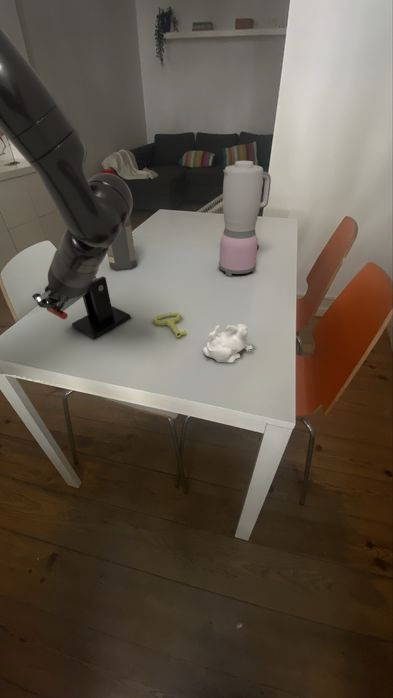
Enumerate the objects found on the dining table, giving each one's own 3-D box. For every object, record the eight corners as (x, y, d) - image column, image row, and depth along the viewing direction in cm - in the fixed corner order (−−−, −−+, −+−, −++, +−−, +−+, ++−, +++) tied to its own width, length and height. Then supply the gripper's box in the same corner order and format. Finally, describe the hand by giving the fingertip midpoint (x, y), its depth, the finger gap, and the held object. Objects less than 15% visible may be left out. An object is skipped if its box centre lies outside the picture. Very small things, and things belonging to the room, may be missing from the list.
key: (178, 342, 76) (177, 334, 75) (150, 321, 84) (149, 314, 83) (201, 331, 80) (201, 324, 79) (172, 312, 88) (172, 305, 86)
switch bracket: (94, 339, 78) (81, 292, 70) (72, 327, 82) (58, 282, 74) (130, 318, 85) (123, 273, 77) (109, 308, 90) (99, 265, 82)
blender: (228, 280, 102) (234, 167, 83) (212, 266, 111) (214, 160, 91) (270, 271, 107) (285, 162, 87) (251, 258, 116) (261, 157, 96)
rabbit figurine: (252, 346, 75) (256, 310, 69) (259, 367, 69) (265, 330, 63) (201, 348, 74) (201, 313, 68) (204, 370, 68) (204, 333, 62)
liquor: (135, 259, 117) (122, 166, 99) (137, 269, 110) (123, 171, 92) (110, 261, 116) (92, 168, 97) (110, 272, 109) (91, 173, 90)
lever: (64, 322, 71) (59, 314, 69) (49, 313, 74) (44, 306, 72) (107, 288, 77) (103, 280, 75) (91, 282, 80) (87, 274, 78)
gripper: (91, 240, 61) (71, 281, 75) (27, 263, 53) (17, 304, 67) (114, 273, 62) (90, 308, 76) (54, 300, 54) (39, 334, 68)
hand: (55, 306), depth 71 cm, fingers closed
